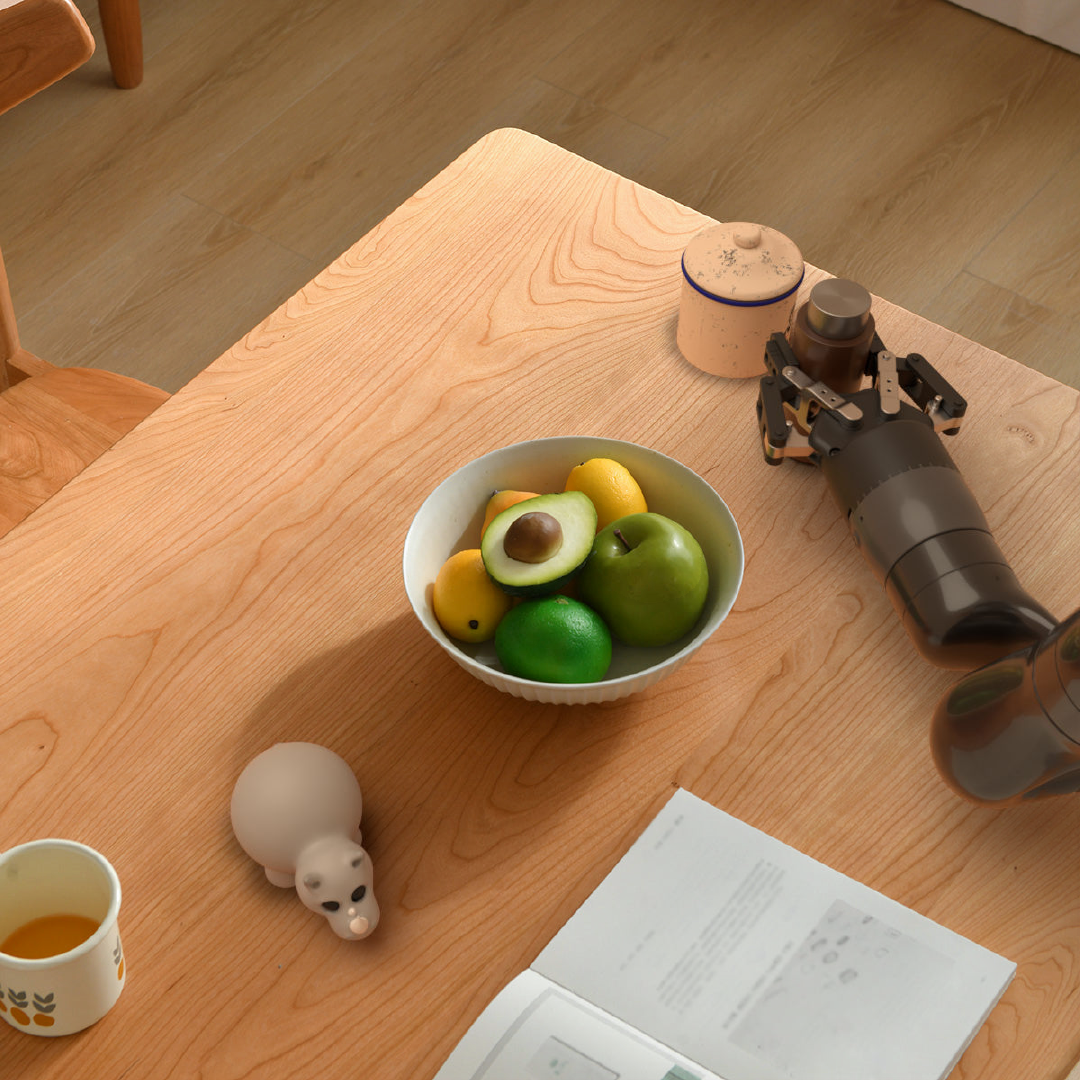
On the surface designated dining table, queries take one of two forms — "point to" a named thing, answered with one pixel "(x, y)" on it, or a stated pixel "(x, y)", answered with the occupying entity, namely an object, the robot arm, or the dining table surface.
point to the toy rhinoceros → (308, 832)
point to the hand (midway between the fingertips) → (813, 336)
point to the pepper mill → (833, 338)
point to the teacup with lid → (736, 296)
